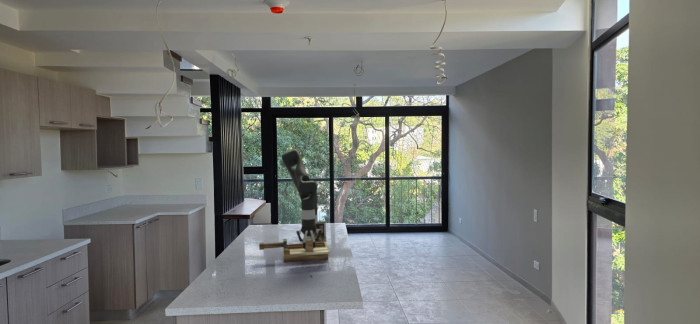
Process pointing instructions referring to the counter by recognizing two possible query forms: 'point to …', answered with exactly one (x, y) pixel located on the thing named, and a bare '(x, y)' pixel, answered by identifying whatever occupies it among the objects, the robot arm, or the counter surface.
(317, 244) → the wooden box
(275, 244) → the brown block
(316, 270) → the counter surface
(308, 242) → the lid
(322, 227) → the coffee box
